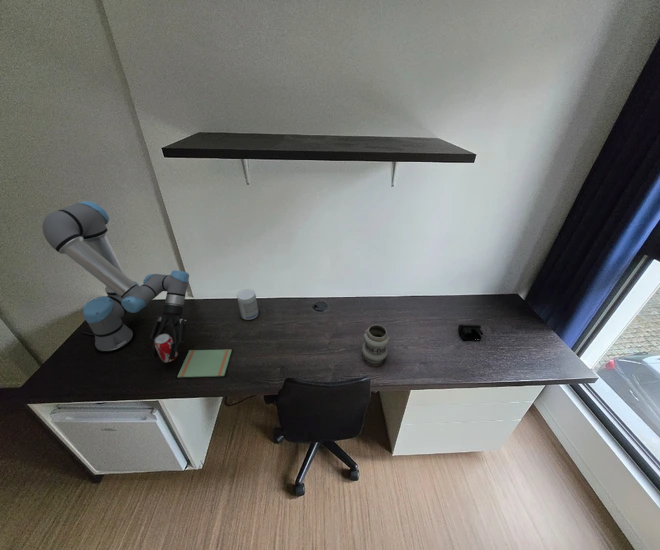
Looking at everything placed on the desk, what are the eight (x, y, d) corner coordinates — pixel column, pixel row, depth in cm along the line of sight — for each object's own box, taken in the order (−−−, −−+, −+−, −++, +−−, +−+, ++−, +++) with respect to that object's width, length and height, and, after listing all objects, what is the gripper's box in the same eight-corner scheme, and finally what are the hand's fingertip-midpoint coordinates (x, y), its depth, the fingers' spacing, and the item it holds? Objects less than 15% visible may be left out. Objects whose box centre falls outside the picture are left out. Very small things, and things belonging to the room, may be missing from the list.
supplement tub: (261, 311, 164) (258, 290, 156) (253, 322, 156) (250, 301, 148) (246, 308, 166) (242, 287, 158) (237, 318, 158) (233, 297, 150)
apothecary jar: (355, 355, 140) (358, 328, 130) (373, 344, 146) (378, 317, 136) (372, 372, 132) (377, 344, 122) (391, 360, 138) (397, 333, 128)
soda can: (174, 364, 127) (166, 345, 120) (158, 363, 127) (149, 344, 120) (181, 351, 133) (174, 332, 126) (166, 351, 133) (158, 332, 126)
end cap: (474, 331, 156) (478, 322, 152) (480, 341, 150) (484, 331, 146) (456, 331, 155) (459, 321, 152) (461, 341, 150) (465, 331, 146)
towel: (177, 377, 126) (177, 376, 126) (189, 351, 139) (189, 350, 138) (224, 376, 127) (223, 375, 127) (232, 350, 140) (231, 349, 140)
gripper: (199, 308, 132) (189, 360, 128) (158, 303, 134) (147, 355, 129) (190, 306, 125) (179, 361, 120) (147, 302, 127) (135, 356, 122)
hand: (163, 358), depth 125 cm, fingers closed on soda can, 7 cm apart
